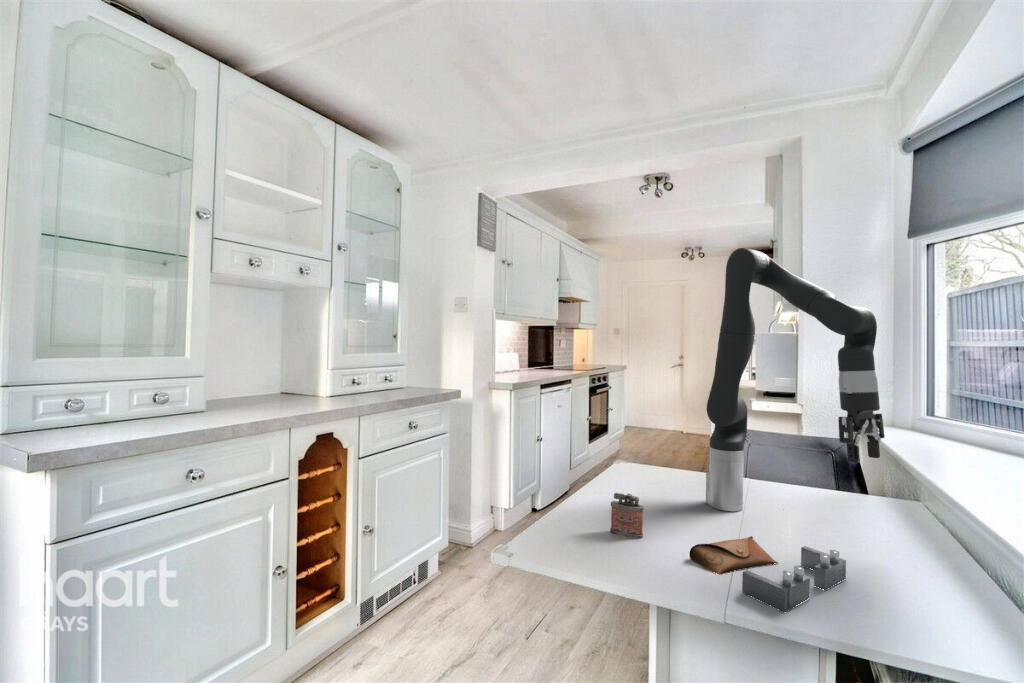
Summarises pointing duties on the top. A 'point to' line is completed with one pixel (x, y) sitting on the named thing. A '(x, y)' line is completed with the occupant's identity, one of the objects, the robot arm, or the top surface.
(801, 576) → the bracket
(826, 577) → the bracket
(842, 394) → the robot arm
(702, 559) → the sunglasses case
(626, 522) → the lighter
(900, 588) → the top surface
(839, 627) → the top surface
